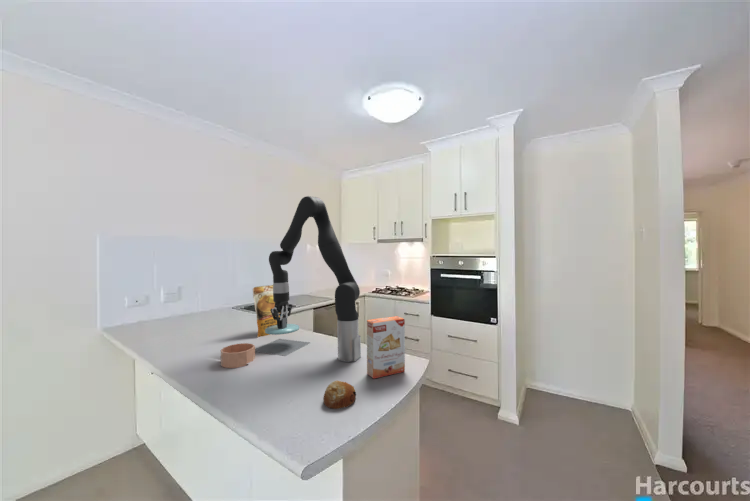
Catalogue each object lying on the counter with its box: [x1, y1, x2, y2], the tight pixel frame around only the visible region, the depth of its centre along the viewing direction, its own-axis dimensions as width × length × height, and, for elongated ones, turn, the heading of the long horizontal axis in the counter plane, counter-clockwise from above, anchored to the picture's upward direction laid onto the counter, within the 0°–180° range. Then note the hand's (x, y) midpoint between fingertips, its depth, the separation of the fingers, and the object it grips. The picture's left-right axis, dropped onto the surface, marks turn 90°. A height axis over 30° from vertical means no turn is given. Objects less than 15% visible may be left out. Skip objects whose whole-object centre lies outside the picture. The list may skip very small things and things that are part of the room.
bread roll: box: [322, 380, 357, 410], centre depth 94 cm, size 10×10×8 cm
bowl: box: [220, 342, 256, 369], centre depth 129 cm, size 13×13×6 cm
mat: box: [255, 338, 311, 357], centre depth 146 cm, size 20×20×1 cm
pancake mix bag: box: [252, 284, 280, 338], centre depth 170 cm, size 7×19×28 cm, turn 141°
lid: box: [265, 317, 300, 336], centre depth 146 cm, size 16×16×6 cm
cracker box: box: [366, 315, 406, 379], centre depth 115 cm, size 14×6×21 cm, turn 117°
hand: (282, 326), depth 146 cm, fingers closed on lid, 3 cm apart
